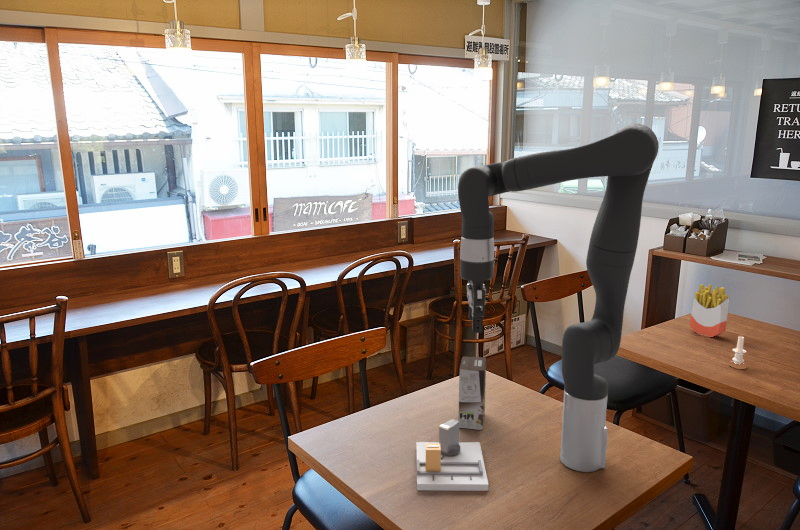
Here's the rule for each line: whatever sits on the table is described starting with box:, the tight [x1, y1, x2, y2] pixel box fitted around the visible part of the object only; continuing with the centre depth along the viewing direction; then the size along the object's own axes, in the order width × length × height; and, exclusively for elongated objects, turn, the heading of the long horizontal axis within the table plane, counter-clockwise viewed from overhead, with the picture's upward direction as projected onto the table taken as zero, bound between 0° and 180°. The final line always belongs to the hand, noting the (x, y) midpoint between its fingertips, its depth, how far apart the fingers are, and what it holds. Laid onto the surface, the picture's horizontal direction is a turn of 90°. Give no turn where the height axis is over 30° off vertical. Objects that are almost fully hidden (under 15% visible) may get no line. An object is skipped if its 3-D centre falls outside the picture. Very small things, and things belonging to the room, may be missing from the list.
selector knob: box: [438, 418, 460, 456], centre depth 138 cm, size 5×5×7 cm
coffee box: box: [457, 356, 487, 431], centre depth 154 cm, size 9×6×16 cm
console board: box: [415, 441, 489, 492], centre depth 135 cm, size 15×17×2 cm
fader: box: [426, 444, 441, 472], centre depth 131 cm, size 3×3×5 cm
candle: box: [732, 335, 747, 365], centre depth 188 cm, size 5×5×10 cm
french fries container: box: [689, 284, 730, 338], centre depth 215 cm, size 5×11×18 cm, turn 33°
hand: (475, 326), depth 137 cm, fingers open, 8 cm apart
